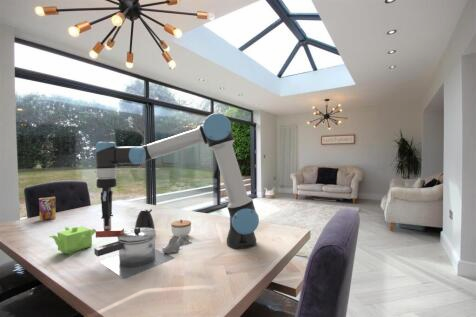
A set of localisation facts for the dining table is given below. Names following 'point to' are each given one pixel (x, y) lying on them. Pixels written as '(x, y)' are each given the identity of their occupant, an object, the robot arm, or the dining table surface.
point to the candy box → (47, 208)
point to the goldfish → (175, 244)
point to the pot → (130, 252)
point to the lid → (127, 234)
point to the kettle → (74, 239)
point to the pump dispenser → (145, 220)
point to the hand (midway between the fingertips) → (107, 232)
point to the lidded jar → (181, 228)
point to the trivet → (127, 272)
